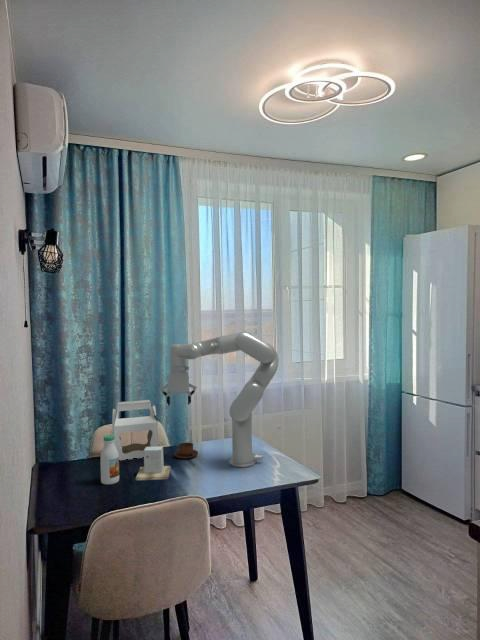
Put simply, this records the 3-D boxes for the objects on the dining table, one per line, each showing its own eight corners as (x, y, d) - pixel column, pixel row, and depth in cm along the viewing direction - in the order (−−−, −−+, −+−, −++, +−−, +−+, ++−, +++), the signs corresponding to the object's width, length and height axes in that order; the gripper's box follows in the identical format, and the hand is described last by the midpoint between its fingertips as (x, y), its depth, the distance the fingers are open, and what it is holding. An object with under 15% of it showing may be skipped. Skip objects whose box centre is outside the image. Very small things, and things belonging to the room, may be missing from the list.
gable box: (114, 461, 230) (112, 405, 229) (112, 453, 242) (111, 400, 242) (159, 456, 237) (157, 401, 236) (155, 448, 249) (154, 397, 249)
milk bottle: (102, 486, 197) (101, 439, 196) (99, 480, 203) (98, 435, 203) (121, 482, 200) (120, 436, 200) (117, 477, 207) (116, 432, 207)
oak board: (170, 468, 217) (170, 465, 217) (168, 479, 203) (167, 476, 203) (140, 469, 217) (140, 466, 216) (135, 480, 203) (135, 477, 203)
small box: (164, 468, 213) (163, 446, 213) (161, 473, 207) (161, 449, 207) (146, 469, 213) (146, 446, 213) (144, 473, 207) (143, 450, 207)
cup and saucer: (178, 452, 242) (177, 441, 242) (200, 453, 240) (200, 441, 240) (171, 460, 230) (170, 447, 230) (194, 460, 228) (194, 448, 228)
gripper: (196, 368, 229) (197, 402, 229) (161, 369, 228) (161, 403, 228) (195, 369, 222) (196, 405, 222) (159, 370, 220) (160, 406, 221)
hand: (179, 404), depth 225 cm, fingers open, 9 cm apart
